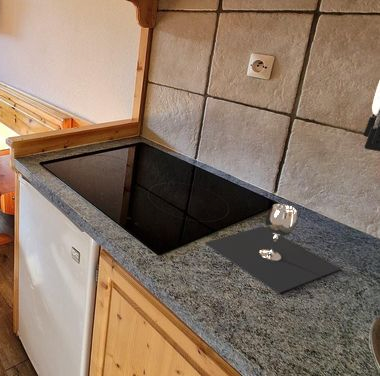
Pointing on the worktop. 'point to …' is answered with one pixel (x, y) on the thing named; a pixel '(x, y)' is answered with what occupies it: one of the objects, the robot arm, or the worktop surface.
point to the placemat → (269, 269)
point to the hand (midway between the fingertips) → (373, 143)
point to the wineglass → (279, 226)
